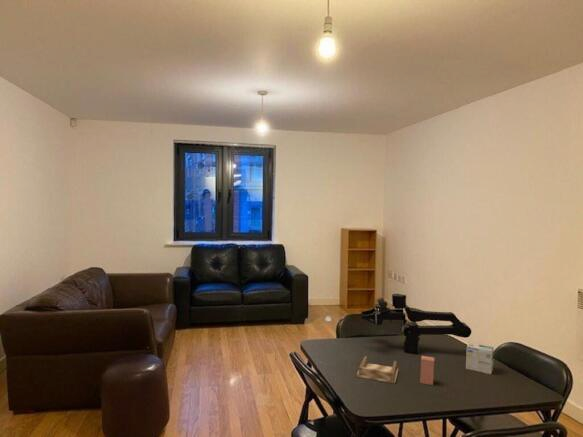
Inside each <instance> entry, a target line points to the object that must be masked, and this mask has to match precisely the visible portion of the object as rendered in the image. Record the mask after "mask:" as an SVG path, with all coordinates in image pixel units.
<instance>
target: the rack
mask: <svg viewBox="0 0 583 437" xmlns="http://www.w3.org/2000/svg"><path fill="white" fill-rule="evenodd" d="M398 373H399V368H398V367H397V361H396V360H393V363H392V366H388V365H387V366H386V365H383V364H382V365H381V364H377V363H376V364H374V363H368V356H366V355H364V357H363V359H362V361H361V363H360V365H359V367H358V371H357V373H356V377H357V378H364V379H368V380H369V379H370V380H374V381H380V382H385V383H392V384H396V382H397V378H398Z"/></svg>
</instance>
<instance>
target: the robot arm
mask: <svg viewBox="0 0 583 437" xmlns="http://www.w3.org/2000/svg"><path fill="white" fill-rule="evenodd" d="M391 298H392V300H391V302H392V304H391V305H392V307H394V308H391V307H388V302H387V301H385V299H384V297H380V298H377V299H376V300H377V303H378V305H374V306H373V307H372V308H370V309H366V310H364V311H361V312H360V313H361V314H362V315H361V316H360V317H361V319H363V320H364V321H367V322H369V323H372V324H374V325H376V326H382V325H383V322H393V321H394V322H396V321H397V322H400V321H401V322H402V326H401V331H402V333H403V335H404V337H405V340H404V341H403V351H404V353H406V354H412V355H419V350H420V349H419V341H420V336H429V335H430V336H434V335H438V336H439V335H443V336H444V335H448V336H449V335H452V336H455V337H459V338H463V339H464V338H465V339H466V338H469V337H471V335H472V329H471V327H470V326H469V325H468V324H466V323H465V322H463V321H461V320H460V319H459V318H458V317H457V315H456V314H455V313H454V312H451V311H449V312H448V311H446V312H445V311H431V310H430V311H428V310H422V309H419V308H415V307H410V306H408V305H407V295H406V294H403V293H402V294H401V293H393V294H391ZM404 311H405V312H404ZM406 317H407V319H408V320H409V321H408V320H407V319H406ZM424 321H437V322H438V321H439V322H450V323H451V324H449V325H444V324H443V325H437V324H436V325H419V324H418V323H419V322H424Z"/></svg>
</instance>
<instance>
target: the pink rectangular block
mask: <svg viewBox="0 0 583 437" xmlns="http://www.w3.org/2000/svg"><path fill="white" fill-rule="evenodd" d="M434 368H435V357H433V356H426V355H421V358H420V375H419V378H420V380H419V383H420V384H424V385H425V384H426V385H430V386H433V385H434V372H435V371H434V370H435V369H434Z"/></svg>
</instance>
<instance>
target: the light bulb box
mask: <svg viewBox="0 0 583 437" xmlns="http://www.w3.org/2000/svg"><path fill="white" fill-rule="evenodd" d="M494 348H495V347H494V346H492V345H487V344H486V345H485V344H480V343H476V342H475V343H474V342H468V343H467V345H466V352H465V353H466V354H465V355H466V356H465V358H466V359H465V370H470V371H475V372H478V373H482V374H483V373H484V374H487V375H492V372H493V370H494V352H495V351H494V350H495V349H494Z"/></svg>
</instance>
